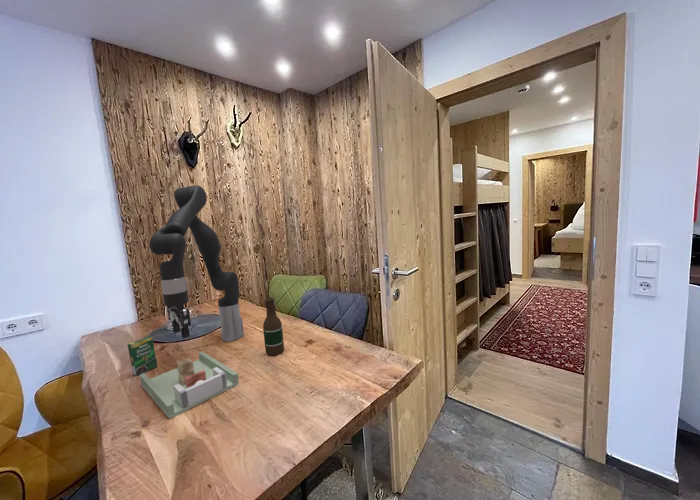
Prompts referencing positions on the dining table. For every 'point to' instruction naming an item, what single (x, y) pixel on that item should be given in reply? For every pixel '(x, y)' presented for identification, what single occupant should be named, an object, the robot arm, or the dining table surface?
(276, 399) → the dining table surface
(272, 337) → the beer bottle
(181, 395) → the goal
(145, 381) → the pitch
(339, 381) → the dining table surface
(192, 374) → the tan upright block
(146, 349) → the coffee box
